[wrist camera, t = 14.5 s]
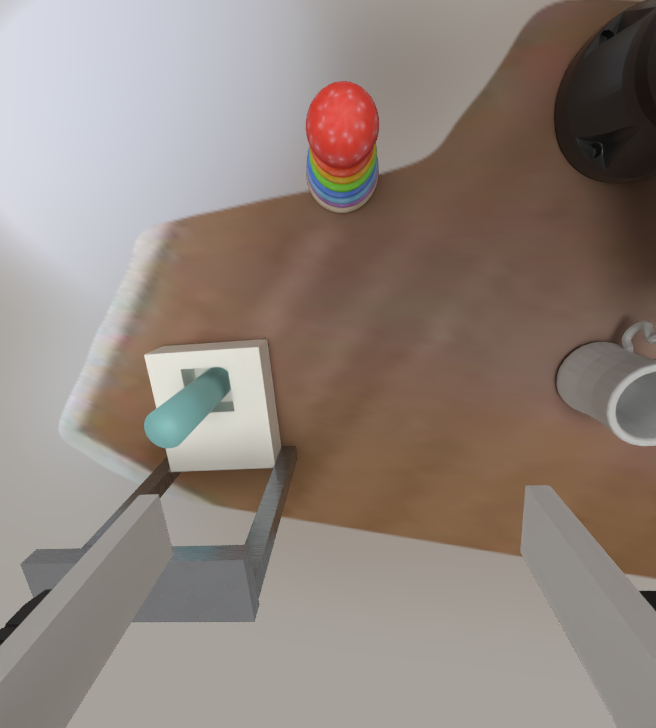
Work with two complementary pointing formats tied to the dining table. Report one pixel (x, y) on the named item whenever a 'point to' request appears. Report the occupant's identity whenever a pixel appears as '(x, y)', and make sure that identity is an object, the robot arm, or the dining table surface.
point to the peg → (187, 408)
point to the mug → (614, 386)
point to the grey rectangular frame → (191, 560)
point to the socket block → (222, 405)
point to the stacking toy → (342, 147)
